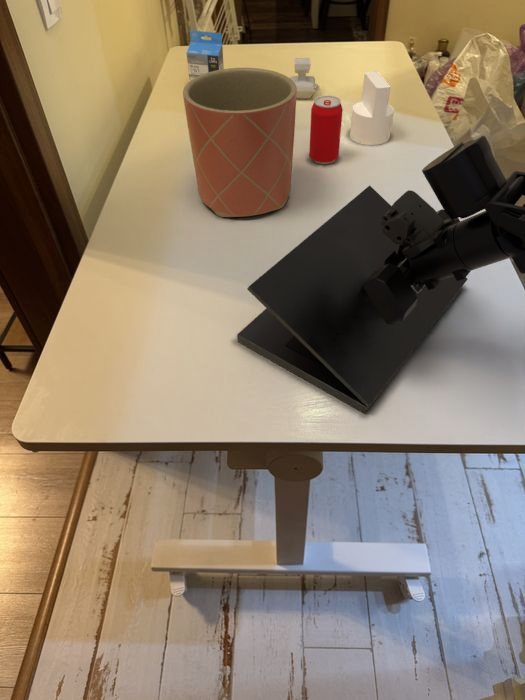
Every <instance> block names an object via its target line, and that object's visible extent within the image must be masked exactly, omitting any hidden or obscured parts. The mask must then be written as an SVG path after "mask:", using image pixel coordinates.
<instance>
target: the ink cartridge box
mask: <svg viewBox="0 0 525 700" xmlns="http://www.w3.org/2000/svg"><path fill="white" fill-rule="evenodd" d="M189 33H190V34H189V35H190V42H189V44H188V48H187V51H186V60H187V61H186V63H187V70H188V79H189V82H190V81H191V80H192V79H194V78H196V77H198V76H200V75H202V74H205V73H208V72H212V71H216V70H222V69H225V68H224V67H225V66H224V65H225V63H224V51H223V50H224V48H223V34H222V32H213V31H204V30H203V31H201V30H189ZM205 36H206V37H207V38H210V39H205ZM203 38H204V39H203Z"/></svg>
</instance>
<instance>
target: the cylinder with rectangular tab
mask: <svg viewBox="0 0 525 700" xmlns="http://www.w3.org/2000/svg"><path fill="white" fill-rule="evenodd" d="M390 93H391V86H390V84H389V83H388V82H387V80H386V79H385V78H384V77H383V75H382V74H381V73H380V72H379V71H366V72H364V75H363V84H362V92H361V99H360V101H358V102H356V103H354V104H353V106H352V110H351V117H350V127H349V139H351V140H352V141H354V142H355V143H358V144H360V145H361V144H362V145H364V146H365V145H366V146H377V145H382V144H385V143H387V142H388V141H389V140H390V137H391V131H392V125H393V119H394V113H395V108H394V106H392V105H391V104H390V103H389V101H390V100H389V99H390Z"/></svg>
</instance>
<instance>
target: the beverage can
mask: <svg viewBox="0 0 525 700" xmlns="http://www.w3.org/2000/svg"><path fill="white" fill-rule="evenodd" d="M341 101H342V100H341V99H340V98H339V97H337V96H334V95H322V96H321V95H320V96H318V97H316V98H315V99H314V100H313V103H312V105H311V109H310V127H309V129H310V130H309V152H308V155H309V158H310V160H311V161H313V162H315V163H316V164H319V165H328V164H332V163H333V162H335V161H337V159H339V155H340V143H341V132H342V123H343V122H342V121H343V110H344V109H343V106H342V102H341Z"/></svg>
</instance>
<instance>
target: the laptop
mask: <svg viewBox="0 0 525 700" xmlns="http://www.w3.org/2000/svg"><path fill="white" fill-rule="evenodd" d="M463 287H464V285H463V286H462V287H461V289H460V290H459V291H458V292H457V294H456V295H455V296H454V298H453V299H452V300H451V301H450V303H449V304H448V305H447V306H446V308H445V309H444V310H443V312H442V313H441V314H440V315H439V317H438V318H437V319H436V320H435V322H434V323H433V324H432V326H431V327H430V328H429V329H428V331H427V332H426V333H425V335H424V336H423V337H422V338H421V340H420V341H419V342H418V343H417V345H416V346H415V347H414V349H413V350H412V351H411V352H410V354H409V355H408V356H407V357H406V359H405V360H404V361H403V363H402V364H401V365H400V366H399V368H398V369H397V370H396V372H395V373H394V374H393V375H392V377H391V378H390V379H389V380H388V382H387V383H386V384H385V386H384V387H383V388H382V389H381V391H380V392H379V393H378V394H377V396H376V397H375V398H374V400H373V401H372V402H371V403H370V405H368V406H365V405H364V404H363V403H362V402H361V401H360V400H359V399H358V398H357V397H356V396H355V395H354V394H353V393H352V392H351V391H350V390H349V389H348V388H347V387H346V386H345V385H344V384H343V383H342V382H341V381H340V380H339V379H338V378H337V377H336V376H335V375H334V374H333V373H332V372H331V371H330V370H329V369H328V368H327V367H326V366H325V365H324V364H323V363H322V362H321V361H320V360H319V359H318V358H317V357H316V356H315V355H314V354H313V353H312V352H310V351H309V350H308V349H307V348H306V347H305V346H304V345H303V344H302V343H301V342H300V341H299V340H298V339H297V338H296V337H295V336H294V335H293V334H292V333H291V332H290V331H289V330H288V329H287V328H286V327H285V326H284V325H283V324H282V323H281V322H280V321H279V320H278V319H277V318H276V317H275V316H274V315H273V314H272V313H271V312H270V311H269V310H268V309H267V308H266V307H265V308H264V310H262V312H261V313H259V314H258V315H257V316H256V317H255V318H253V320H251V322H249V323H248V324H247V325H246V326H245V327H244V328H242V330H241V331H239V332H238V333H237V334H236V337H237V338H236V340H237V343H239V344H241V345H242V346H244V347H246V348H248V349H250V350H251V351H253V352H255V353H257V354H258V355H260V356H262V357H264V358H266V359H267V360H269V361H271V362H273V363H274V364H276V365H277V366H279V367H282V368H283V369H285V370H286V371H289V372H290V373H292V374H293V375H296V376H297V377H299V378H301V379H303V380H305V381H307V383H309V384H311V385H313V386H314V387H316V388H318V389H320V390H322V391H324V392H325V393H327V394H328V395H330V396H333V397H334V398H336V399H338V400H339V401H342V402H343V403H344V404H347V405H349V406H350V407H351V408H354V409H356V410H357V411H359V412H361V413H362V414H366V412H367V411H368V410H369V409H370V407H371V406H372V405H373V404H374V403H375V401H376V400H377V398H378V397H379V396H380V395H381V394H382V392H383V391H384V390H385V388H386V387H387V386H388V385H389V383H390V382H391V381H392V380H393V378H394V377H395V376H396V374H397V373H398V371H400V369H401V368H402V367H403V366H404V364H405V363H406V361H407V360H408V359H409V358H410V356H411V355H412V353H414V351H415V350H416V349H417V347H418V346H420V343H422V341H423V339H424V338H425V337H426V336H427V334H428V333H429V332H430V331H431V329H432V328H433V327H434V325H435V324H436V323H437V322H438V321H439V319H440V318H441V317H442V315H443V314H444V313H445V311H446V310H447V309H448V308H449V306H450V305H451V304H452V303H453V302H454V300H455V299H456V297H457V296H458V295H459V293H460V292H461V291H462V290H463Z"/></svg>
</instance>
